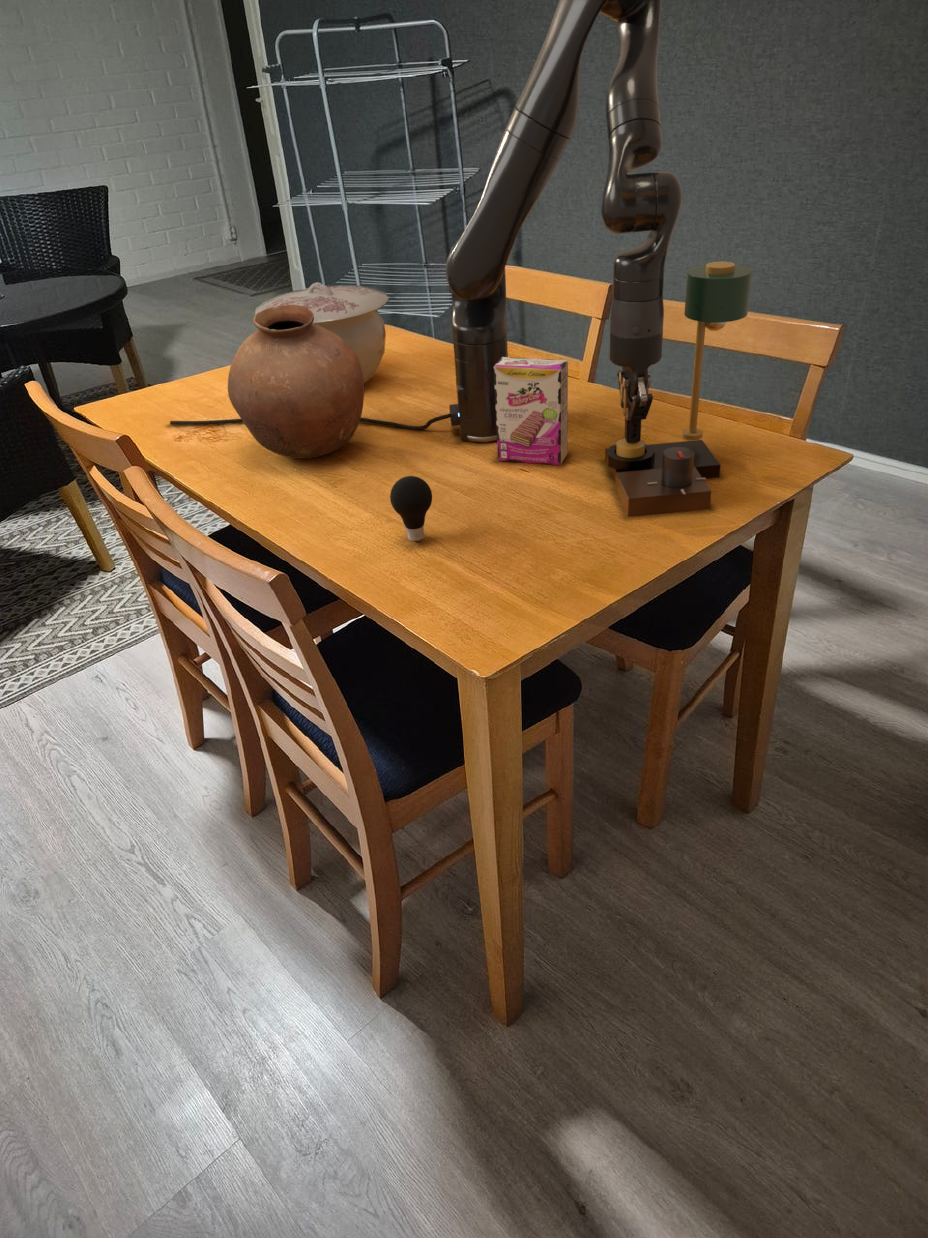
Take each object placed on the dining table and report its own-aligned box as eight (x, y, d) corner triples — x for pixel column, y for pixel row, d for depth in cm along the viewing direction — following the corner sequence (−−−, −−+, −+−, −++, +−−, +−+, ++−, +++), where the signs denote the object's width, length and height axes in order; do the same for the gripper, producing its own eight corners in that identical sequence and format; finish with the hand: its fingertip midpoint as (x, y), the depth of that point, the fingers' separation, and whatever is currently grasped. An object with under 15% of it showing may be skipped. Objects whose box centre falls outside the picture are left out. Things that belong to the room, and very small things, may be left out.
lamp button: (619, 460, 131) (619, 449, 130) (613, 449, 135) (613, 438, 134) (647, 457, 131) (648, 447, 130) (641, 446, 135) (641, 436, 134)
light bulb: (395, 533, 124) (387, 471, 119) (435, 529, 125) (429, 467, 119) (396, 553, 120) (387, 489, 114) (437, 549, 120) (431, 484, 114)
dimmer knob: (658, 475, 127) (660, 445, 124) (688, 473, 127) (690, 443, 124) (664, 488, 123) (666, 458, 121) (694, 486, 123) (697, 456, 120)
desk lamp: (684, 448, 132) (698, 274, 117) (669, 427, 139) (680, 260, 125) (741, 443, 132) (762, 268, 117) (723, 422, 139) (741, 254, 125)
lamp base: (611, 487, 132) (612, 463, 129) (599, 461, 140) (600, 438, 138) (719, 477, 132) (721, 453, 130) (700, 452, 140) (702, 429, 138)
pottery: (307, 419, 166) (282, 285, 152) (398, 439, 154) (381, 296, 140) (218, 463, 151) (181, 320, 137) (311, 489, 139) (282, 335, 125)
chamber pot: (392, 401, 171) (379, 294, 159) (258, 409, 172) (235, 304, 161) (402, 357, 194) (391, 261, 182) (284, 365, 195) (266, 270, 184)
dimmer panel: (628, 517, 123) (629, 498, 121) (615, 490, 131) (615, 471, 129) (712, 510, 123) (714, 490, 122) (694, 482, 131) (696, 464, 129)
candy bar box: (496, 462, 143) (491, 365, 133) (505, 450, 146) (501, 355, 137) (561, 467, 139) (561, 368, 130) (568, 454, 143) (568, 358, 134)
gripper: (674, 338, 117) (667, 455, 127) (651, 313, 128) (645, 422, 137) (620, 343, 117) (617, 460, 127) (601, 318, 128) (600, 427, 137)
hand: (632, 440), depth 132 cm, fingers closed
